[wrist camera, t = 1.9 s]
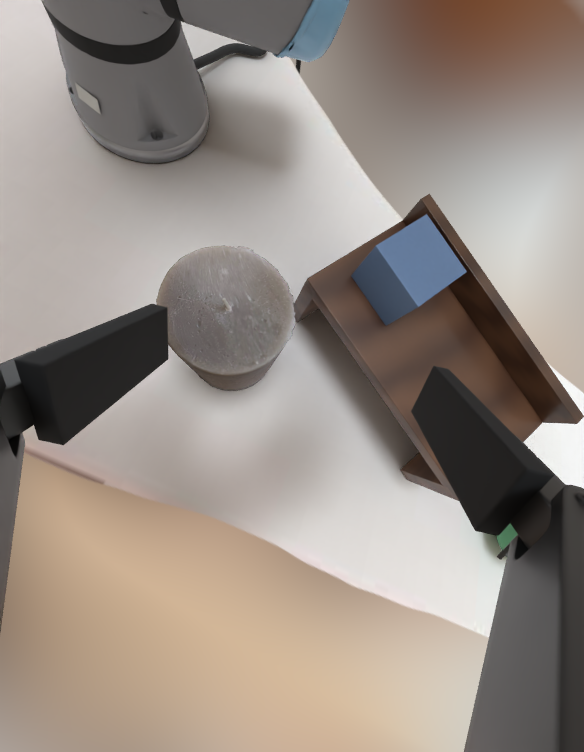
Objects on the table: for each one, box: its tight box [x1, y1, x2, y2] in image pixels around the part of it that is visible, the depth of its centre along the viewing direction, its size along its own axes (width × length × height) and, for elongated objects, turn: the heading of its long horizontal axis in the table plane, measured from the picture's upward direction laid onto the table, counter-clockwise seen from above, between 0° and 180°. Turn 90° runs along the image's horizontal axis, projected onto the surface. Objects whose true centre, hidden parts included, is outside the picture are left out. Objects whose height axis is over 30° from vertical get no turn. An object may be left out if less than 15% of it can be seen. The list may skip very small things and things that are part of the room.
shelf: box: [294, 194, 584, 501], centre depth 30 cm, size 26×14×12 cm, turn 36°
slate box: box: [351, 214, 467, 326], centre depth 25 cm, size 6×6×5 cm
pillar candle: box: [156, 246, 296, 391], centre depth 25 cm, size 10×10×15 cm
